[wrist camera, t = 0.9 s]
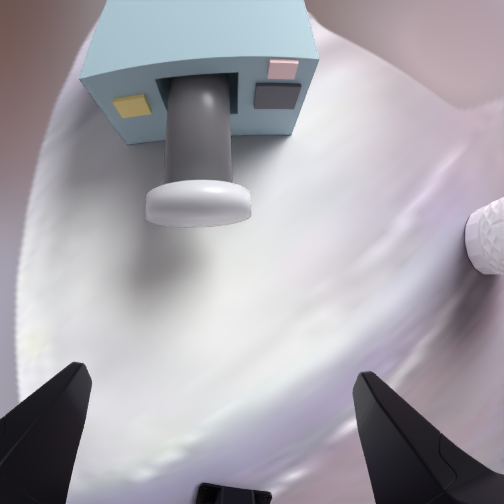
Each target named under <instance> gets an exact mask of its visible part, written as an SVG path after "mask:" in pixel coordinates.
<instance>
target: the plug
mask: <svg viewBox="0 0 504 504" xmlns="http://www.w3.org/2000/svg"><path fill="white" fill-rule="evenodd" d="M249 217H251V199H250V192H249V190H248V189H246V188H245V187H243V186H241V185H238V184H234V183H232V160H231V128H230V90H229V73H212V74H198V75H186V76H177V77H171V78H170V88H169V99H168V111H167V124H166V140H165V160H164V185H161V186H158V187H156V188H154V189H152V190H150V191H149V192H148V193H147V195H146V220H148V221H149V222H151V223H154V224H158V225H163V226H171V227H212V226H221V225H228V224H233V223H237V222H241V221H244V220H246V219H248V218H249Z"/></svg>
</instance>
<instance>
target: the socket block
mask: <svg viewBox="0 0 504 504" xmlns="http://www.w3.org/2000/svg"><path fill="white" fill-rule="evenodd" d="M318 62H319V56H318V51H317V47H316V43H315V39H314V36H313V32H312V28H311V24H310V21H309V17H308V14H307V10H306V7H305V3H304V0H108V1H107V3H106V5H105V7H104V10H103V12H102V14H101V17H100V19H99V22H98V24H97V27H96V29H95V32H94V35H93V37H92V40H91V43H90V46H89V49H88V52H87V55H86V58H85V61H84V64H83V67H82V70H81V74H80V77H79V80H80V81H81V83H82V84H83V86H84V87H85V88H86V90H87V91H88V92H89V94H90V95H91V97H92V98H93V99H94V101H95V102H96V104H97V105H98V106H99V108H100V109H101V110H102V112H103V113H104V114H105V116H106V117H107V119H108V120H109V121H110V123H111V124H112V125H113V127H114V128H115V129H116V131H117V132H118V133H119V135H120V136H121V137H122V139H123V140H124V141H125V143H126V144H127V145H129V144H137V143H145V142H154V141H163V140H166V124H167V111H168V99H169V88H170V78H171V77H177V76H186V75H198V74H212V73H229V90H230V128H231V136H234V135H291V134H292V132H293V129H294V126H295V124H296V121H297V118H298V115H299V113H300V110H301V107H302V105H303V102H304V99H305V97H306V94H307V91H308V88H309V86H310V83H311V80H312V78H313V75H314V72H315V70H316V67H317V64H318Z"/></svg>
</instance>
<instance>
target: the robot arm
mask: <svg viewBox="0 0 504 504" xmlns="http://www.w3.org/2000/svg"><path fill="white" fill-rule="evenodd" d="M91 387H92V380H91V377H90V375H89V373H88V370H87V368H86V366H85V364H84V363H79V362H72V363H71V364H69V365H68V366H67V367H66V368H64V369H63V370H62V371H60V372H59V373H58V374H57V375H55V376H54V377H53V378H51V379H50V380H49V381H48V382H46V383H45V384H44V385H43V386H41V387H40V388H39V389H38V390H36V391H35V392H34V393H32V394H31V395H30V396H29V397H27V398H26V399H25V400H24V401H22V402H21V403H20V404H19V405H17V406H16V407H15V408H14V409H13V410H11V411H10V412H9V413H8V414H6V415H5V416H4V417H3V418H1V419H0V504H66V499H67V494H68V489H69V484H70V480H71V475H72V471H73V466H74V462H75V458H76V454H77V450H78V446H79V443H80V439H81V435H82V432H83V428H84V424H85V420H86V414H87V409H88V403H89V398H90V392H91ZM353 399H354V406H355V412H356V419H357V426H358V432H359V437H360V441H361V445H362V448H363V452H364V456H365V460H366V464H367V468H368V472H369V476H370V480H371V485H372V489H373V493H374V498H375V502H376V504H504V475H503V474H499V473H496V472H494V471H492V470H490V469H489V468H487V467H486V466H484V465H483V464H481V463H480V462H478V461H477V460H475V459H474V458H472V457H471V456H470V455H468V454H467V453H465V452H464V451H463V450H461V449H460V448H459V447H457V446H456V445H455V444H454V443H453V442H451V441H450V440H449V439H448V438H447V437H445V436H444V435H443V434H442V433H441V434H440V431H439V430H437V429H436V428H435V427H434V426H433V425H432V424H431V423H430V422H428V421H427V420H426V419H425V418H424V417H423V416H422V415H420V414H419V413H418V412H417V411H416V410H415V409H414V408H413V407H411V406H410V405H409V404H408V403H407V402H406V401H405V400H404V399H403V398H401V397H400V396H399V395H398V394H397V393H396V392H395V391H394V390H392V389H391V388H390V387H389V386H388V385H387V384H386V383H385V382H383V381H382V380H381V379H380V378H379V377H378V376H377V375H376V374H375V373H373V372H372V371H366V372H360V373H359V375H358V377H357V380H356V382H355V385H354V387H353ZM203 487H206V489H205V488H203ZM264 496H268V497H264ZM271 499H272V494H271V493H270V492H267V491H256V490H248V489H240V488H233V487H226V486H220V485H214V484H209V483H201V484H200V486H199V491H198V495H197V500H196V504H270V502H271Z"/></svg>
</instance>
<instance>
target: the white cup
mask: <svg viewBox="0 0 504 504" xmlns="http://www.w3.org/2000/svg"><path fill="white" fill-rule="evenodd" d="M465 245H466V249H467V254H468V257H469V259H470V261H471V262H472V264H473V266H474V268H475V269H477V270H478V271H480V272H481V273H482V274H502V275H504V197H502V198H501V199H498V200H496V201H494V202H492V203H490V204H489V205H487V206H485V207H482V208H480V209H478V210H476V211H475V212H474V213H472V214H471V215H470V217H469V219H468V222H467V224H466V227H465Z"/></svg>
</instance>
